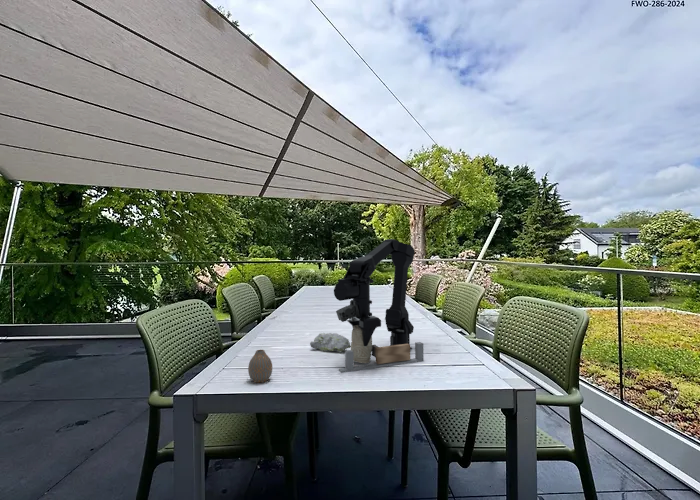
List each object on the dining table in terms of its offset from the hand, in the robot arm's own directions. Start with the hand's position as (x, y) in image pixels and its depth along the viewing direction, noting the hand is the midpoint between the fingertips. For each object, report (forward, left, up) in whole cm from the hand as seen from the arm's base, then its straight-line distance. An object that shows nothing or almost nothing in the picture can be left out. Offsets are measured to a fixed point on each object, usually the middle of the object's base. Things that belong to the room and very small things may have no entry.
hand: (361, 343), depth 125 cm
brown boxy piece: (-9, +4, -5) cm, 11 cm away
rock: (+5, -18, -7) cm, 20 cm away
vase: (+34, +4, -6) cm, 35 cm away
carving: (0, 0, -6) cm, 6 cm away
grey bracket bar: (-4, +6, -6) cm, 10 cm away
